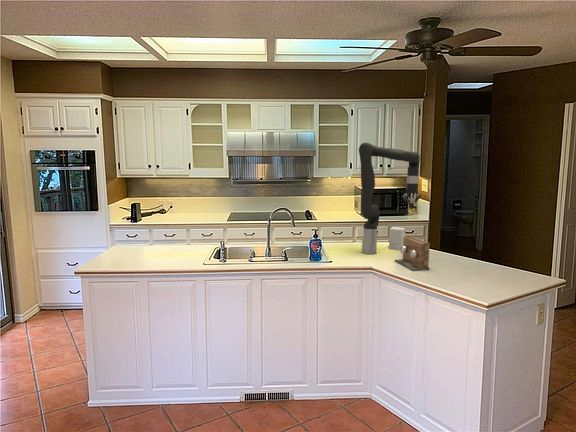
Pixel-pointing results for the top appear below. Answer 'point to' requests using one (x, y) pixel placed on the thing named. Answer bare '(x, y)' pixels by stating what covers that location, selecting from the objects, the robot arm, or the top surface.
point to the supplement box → (396, 238)
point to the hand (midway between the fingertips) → (411, 208)
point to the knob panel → (416, 262)
